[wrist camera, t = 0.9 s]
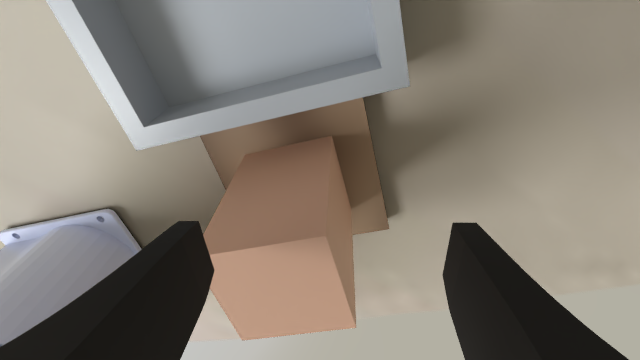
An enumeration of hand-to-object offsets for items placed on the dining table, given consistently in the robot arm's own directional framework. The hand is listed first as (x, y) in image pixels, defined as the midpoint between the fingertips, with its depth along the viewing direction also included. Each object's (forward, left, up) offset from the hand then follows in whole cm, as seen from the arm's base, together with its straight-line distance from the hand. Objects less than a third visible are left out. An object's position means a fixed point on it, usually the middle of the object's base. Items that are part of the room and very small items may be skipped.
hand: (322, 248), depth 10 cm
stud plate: (-3, -3, -10) cm, 11 cm away
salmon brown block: (-3, -3, -9) cm, 10 cm away
